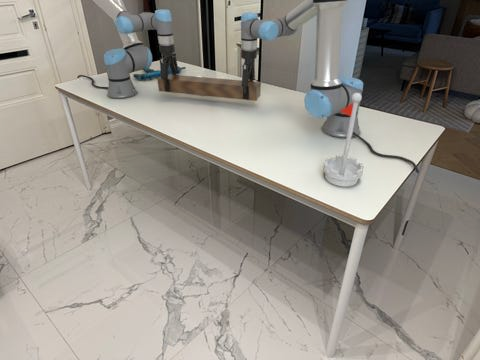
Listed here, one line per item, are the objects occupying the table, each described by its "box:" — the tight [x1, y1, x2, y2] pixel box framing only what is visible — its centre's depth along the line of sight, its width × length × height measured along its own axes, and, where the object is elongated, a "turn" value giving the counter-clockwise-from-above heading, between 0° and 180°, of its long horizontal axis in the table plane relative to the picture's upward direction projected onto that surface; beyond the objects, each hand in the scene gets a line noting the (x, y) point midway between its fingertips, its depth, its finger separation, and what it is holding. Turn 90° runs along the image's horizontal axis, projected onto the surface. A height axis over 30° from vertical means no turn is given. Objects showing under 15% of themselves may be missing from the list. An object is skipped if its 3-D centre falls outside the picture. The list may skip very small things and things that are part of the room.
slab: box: [156, 74, 262, 102], centre depth 175 cm, size 54×8×7 cm, turn 73°
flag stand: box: [322, 93, 365, 187], centre depth 109 cm, size 13×13×30 cm
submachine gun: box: [132, 66, 187, 81], centre depth 224 cm, size 34×4×25 cm
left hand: (171, 88), depth 182 cm, fingers closed on slab, 8 cm apart
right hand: (248, 96), depth 172 cm, fingers closed on slab, 8 cm apart
